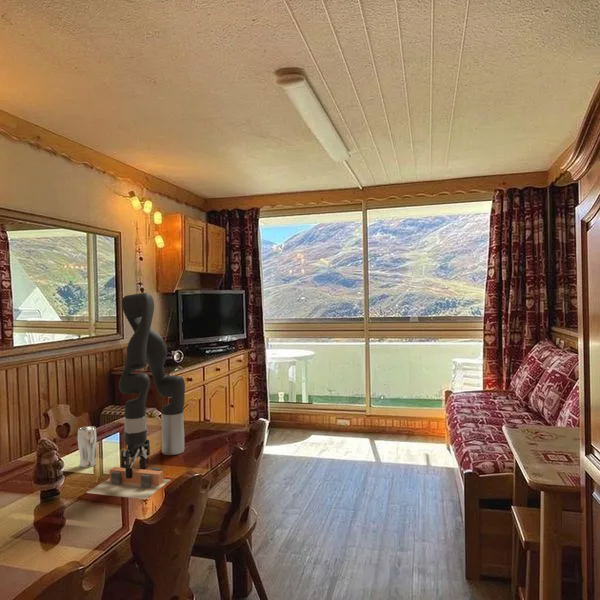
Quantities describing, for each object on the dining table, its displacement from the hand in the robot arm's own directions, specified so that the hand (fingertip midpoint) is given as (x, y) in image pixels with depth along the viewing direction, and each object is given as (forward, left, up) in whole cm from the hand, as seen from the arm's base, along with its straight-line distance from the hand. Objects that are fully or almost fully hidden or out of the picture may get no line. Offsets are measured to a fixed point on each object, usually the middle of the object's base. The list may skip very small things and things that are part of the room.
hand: (136, 473), depth 170 cm
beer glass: (-13, -31, -4) cm, 34 cm away
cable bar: (0, 0, -3) cm, 3 cm away
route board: (+4, 0, -4) cm, 6 cm away
